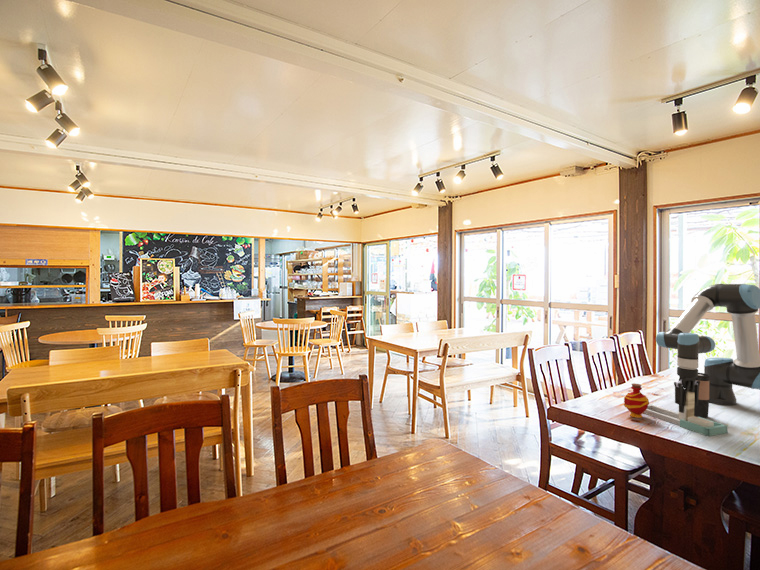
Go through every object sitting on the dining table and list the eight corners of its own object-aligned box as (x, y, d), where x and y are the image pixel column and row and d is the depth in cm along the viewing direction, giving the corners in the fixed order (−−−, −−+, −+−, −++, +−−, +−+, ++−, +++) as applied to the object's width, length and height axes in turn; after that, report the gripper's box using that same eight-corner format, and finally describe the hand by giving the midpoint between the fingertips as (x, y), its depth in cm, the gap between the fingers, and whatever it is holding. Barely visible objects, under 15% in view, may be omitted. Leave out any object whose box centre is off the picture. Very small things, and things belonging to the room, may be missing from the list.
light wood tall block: (693, 423, 180) (694, 392, 179) (687, 424, 179) (688, 393, 178) (684, 420, 184) (685, 390, 183) (678, 421, 182) (679, 390, 182)
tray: (698, 423, 182) (698, 416, 182) (727, 432, 171) (727, 425, 171) (679, 426, 178) (679, 419, 178) (708, 436, 167) (708, 428, 167)
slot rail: (650, 408, 202) (650, 404, 202) (695, 423, 182) (696, 418, 182) (635, 410, 199) (636, 406, 199) (680, 425, 179) (680, 421, 179)
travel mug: (712, 418, 187) (713, 376, 187) (693, 417, 189) (694, 375, 189) (702, 413, 195) (703, 372, 195) (685, 412, 197) (685, 371, 196)
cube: (703, 428, 176) (703, 418, 176) (713, 431, 172) (713, 422, 172) (697, 429, 175) (697, 419, 175) (707, 432, 171) (707, 423, 171)
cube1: (693, 424, 180) (694, 415, 180) (703, 428, 176) (703, 418, 176) (687, 425, 179) (687, 416, 178) (697, 429, 175) (697, 419, 175)
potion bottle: (641, 421, 184) (641, 388, 184) (618, 414, 193) (619, 383, 193) (654, 417, 189) (654, 385, 189) (631, 410, 198) (632, 380, 198)
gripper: (692, 364, 187) (690, 414, 187) (665, 366, 181) (664, 418, 182) (709, 368, 180) (708, 419, 180) (682, 370, 174) (681, 423, 175)
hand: (686, 418), depth 181 cm, fingers closed on light wood tall block, 4 cm apart
